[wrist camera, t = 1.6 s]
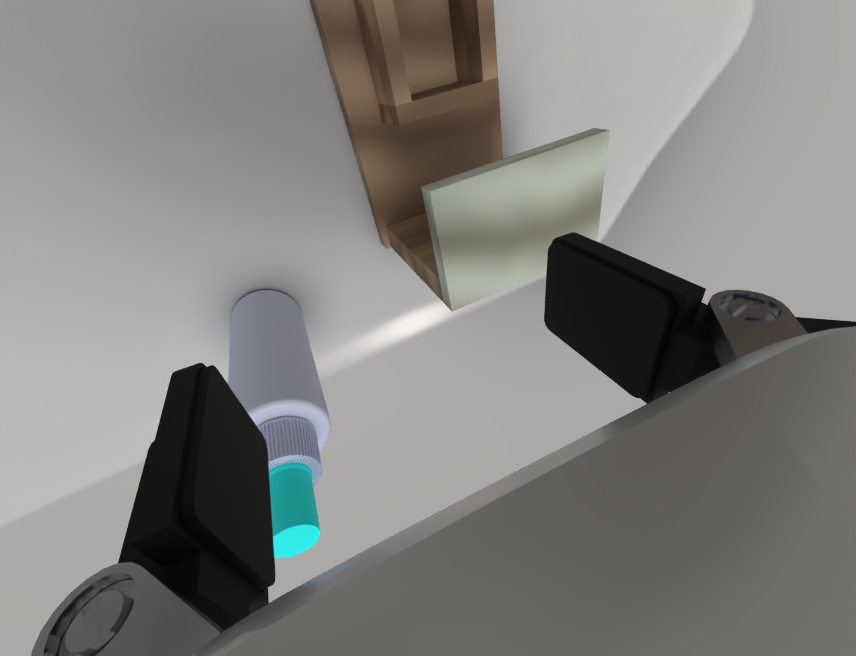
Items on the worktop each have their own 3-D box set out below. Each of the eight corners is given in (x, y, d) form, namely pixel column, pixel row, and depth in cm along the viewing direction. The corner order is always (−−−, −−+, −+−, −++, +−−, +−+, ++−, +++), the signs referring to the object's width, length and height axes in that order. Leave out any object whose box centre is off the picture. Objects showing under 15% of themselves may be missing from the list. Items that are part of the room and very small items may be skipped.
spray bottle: (235, 347, 34) (231, 596, 18) (226, 289, 31) (210, 525, 15) (302, 340, 37) (354, 553, 20) (299, 286, 34) (358, 484, 17)
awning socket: (308, -7, 24) (365, -83, 13) (479, -41, 26) (645, -128, 16) (381, 243, 35) (445, 314, 24) (497, 200, 38) (601, 247, 27)
